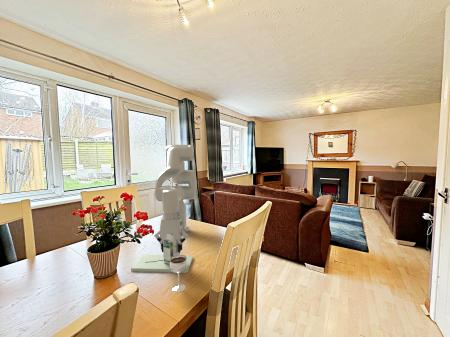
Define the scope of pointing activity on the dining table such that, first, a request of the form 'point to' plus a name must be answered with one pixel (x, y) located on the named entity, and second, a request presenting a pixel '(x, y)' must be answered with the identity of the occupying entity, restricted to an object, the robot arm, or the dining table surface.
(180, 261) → the wineglass
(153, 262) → the board
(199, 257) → the dining table surface
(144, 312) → the dining table surface
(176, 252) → the syrup box
